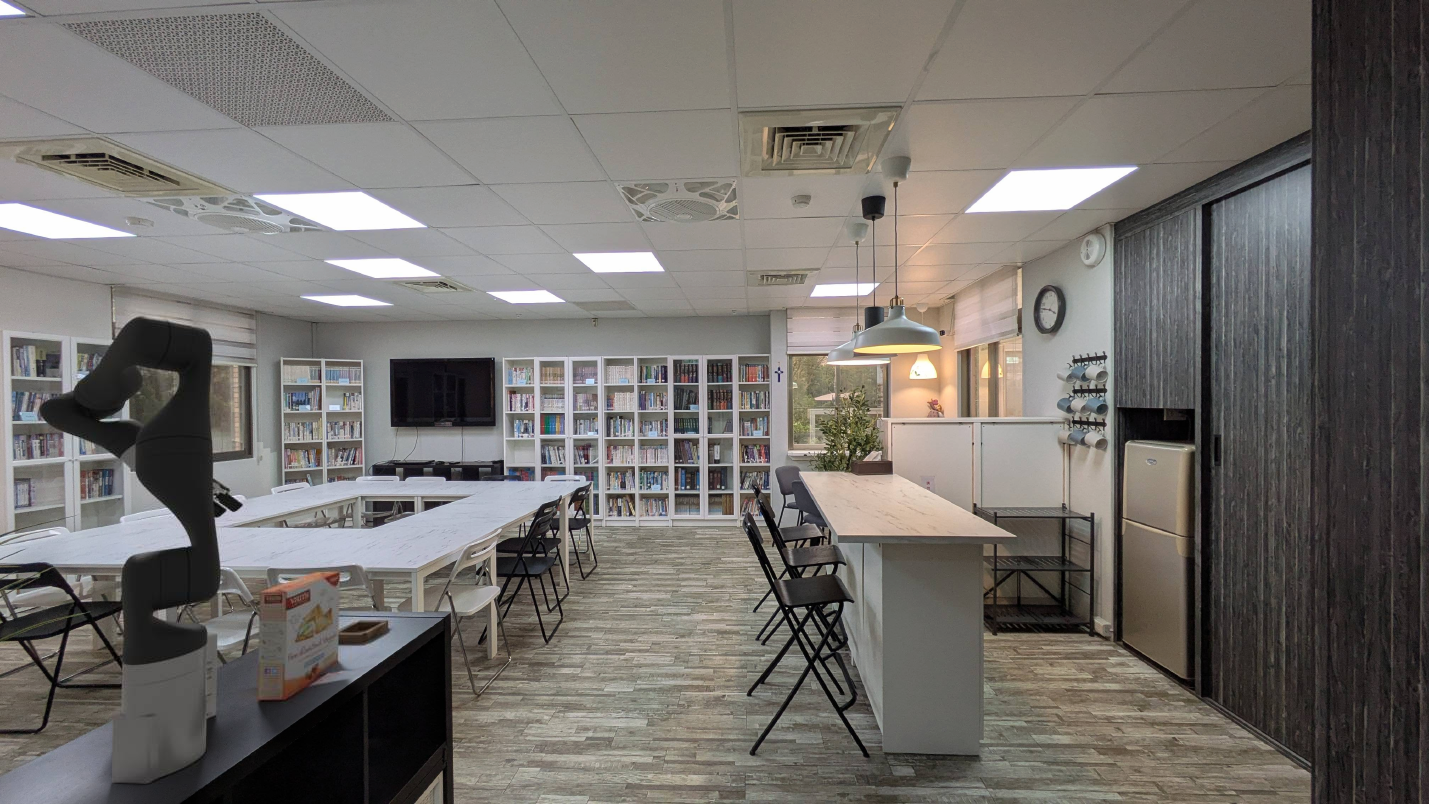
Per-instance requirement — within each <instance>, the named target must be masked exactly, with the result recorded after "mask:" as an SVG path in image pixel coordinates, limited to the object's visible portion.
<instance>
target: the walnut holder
mask: <svg viewBox="0 0 1429 804" xmlns="http://www.w3.org/2000/svg"><path fill="white" fill-rule="evenodd" d="M390 630H393V627H389V620H387V619H385V620H372V619H371V620H367V619H365V620H362V619H360V620H358V621H353V622H352V623H350V624H348V625H345V626H343V627H342V628H339V631H338V645H365V644H367V643H369V642H372V641H373V640H374V639H377V638H379V637H380V636H382V635H383V634H385V633H387V632H389V631H390Z"/></svg>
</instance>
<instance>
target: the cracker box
mask: <svg viewBox="0 0 1429 804" xmlns="http://www.w3.org/2000/svg"><path fill="white" fill-rule="evenodd" d="M340 573H341V572H339V571H316V572H312V573H310V574H307V575H305V576H302V577H298V578H296V579H294V580H293V579H292V580H291V581H287V582H285V583H281V584H277V585H276V586H272V587H270V588H268V589H265V590H262V591H260V592H259V614H258V615H259V617H258V619H259V621H258V623H259V624H258V656H257V657H258V660H257V662H258V663H257V664H258V665H257V698H256V699H257V701H285V700H287V699H289V698H290V697H292V696H293V695H295V694H297V693H298V692H300V691H302V690H303V689H305V688H307V687H309V685H311V684H313V683H314V682H316V681H318V680H320V679H321V678H322V677H324V676H326V675H328V674H329V672H326V673H321V672H322V671H324V670H326V669H327V668H329V667H331V666H332V665H334V664H335V663H337V662H338V661H339V644H338V631H339V629H340V628H339V625H340V624H339V623H340V620H339V619H340V577H341V575H340ZM319 673H321V674H319Z"/></svg>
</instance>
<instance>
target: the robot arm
mask: <svg viewBox="0 0 1429 804" xmlns="http://www.w3.org/2000/svg"><path fill="white" fill-rule="evenodd" d="M213 349H214V348H213V339H212V336H211V334H210V332H209V331H208V330H207V329H206V328H205V327H202V326H200V325H195V324H192V323H185V322H182V321H181V322H180V321H176V320H171V319H167V318H162V317H157V316H151V315H150V316H149V315H139V316H136V317H134V318H132V319H131V320H129V321H128V322H126V323H125V325H124V326H123V327H122V328H121V329H120V331H119V332H118V334H117V335H116V336H115V338H114V339H113V341H112V342H111V344H110V345H109V347H108V348H107V350H106V352H105V353H104V354H103V356H102V358H101V359H100V361H99V363H98V364H97V365H96V366H95V368H94V369H92V370H91V371H90V372H88V373H87V374H86V375H85V376H83V377H82V378H81V379H80V380H79V381H78V382H77V383H76V384H75V386H74V388H73V390H71V391H68V392H65V393H63V394H59V395H57V396H54V397H51V398H49V399H47V400H45V401H43V402H42V403H41V405H40V406H39V413H40V417H41V418H42V419H43V421H44V422H45V423H46V424H48V425H49V426H51V427H52V428H54V429H56V430H58V431H61V432H62V433H66V434H69V435H71V436H73V437H77V438H79V439H82V440H85V441H87V442H89V443H92V444H95V445H96V446H99V447H102V448H103V449H104V450H106V451H107V452H108V453H110V454H111V455H113V456H114V457H115V458H118V459H119V460H120V461H121V462H123V463H124V464H125V465H126V466H127V467H128V468H129V469H131V470H132V471H133V472H135V475H136V478H137V479H138V481H139V483H140V484H141V485H142V486H143V488H145V489H146V490H147V491H148V492H149V493H150V494H151V495H152V496H154V498H156V499H157V500H158V501H159V502H160V503H161V504H162V505H164V506H165V507H166V509H168V510H169V511H170V512H171V513H172V514H173V515H174V517H176V519H177V520H178V521H179V522H180V524H181V525H182V527H183V529H184V530H185V533H186V534H187V536H188V539H189V542H190V546H182V547H174V548H168V549H166V548H165V549H161V550H160V549H159V550H154V551H146V552H141V553H136V554H132V555H131V556H130V557H128V558H127V559H126V561H125V563H124V565H123V566H122V571H121V577H120V583H121V584H120V585H121V587H120V588H121V602H122V603H121V605H122V620H123V638H122V639H123V641H122V658H121V659H122V661H121V662H122V665H121V667H122V674H121V676H122V678H121V679H122V681H121V705H120V706H121V710H120V711H121V713H119V714H117V715H115V716H114V717H113V718H112V741H111V742H112V747H111V751H112V752H111V753H112V754H111V783H116V784H118V783H121V784H150V783H152V782H154V781H155V780H157V779H159V778H161V777H164V776H167V775H170V774H172V773H175V772H177V771H179V770H181V769H184V768H186V767H188V766H189V765H191V764H193V763H194V762H197V760H199V759H200V758H201V757H202V756H203V755H204V754H205V753H206V750H207V719H206V704H207V632H208V629H207V627H206V625H204V624H202V623H199V622H197V623H196V622H182V621H181V622H180V621H179V622H177V621H170V620H169V621H168V620H164V619H161V618H158V617H156V616H154V613H155V612H158V611H163V610H166V609H167V610H168V609H172V608H177V607H183V606H187V605H192V604H196V603H201V602H205V601H209V600H212V599H213V598H214V597H216V595H218V592H219V589H220V586H221V580H222V579H221V578H222V577H221V575H222V574H221V571H222V570H221V560H220V551H219V542H218V535H217V534H218V533H217V527H216V526H217V525H216V518H220V517H222V516H223V515H224V514H225V513H226V512H227V511H228V510H229V511H231V512H232V513H235V512H238V511H239V510H240V509H241V508H242V507H243V506H244V504H243V503H242V502H241V501H240V500H238V499H237V498H235V497H233V496H232V495H231V494H230V492H231V489H230V488H228V487H227V486H225V484H222V482H219V481H218V480H217V479H215V478H214V450H213V447H214V446H213V437H212V425H211V407H210V405H211V403H210V401H211V398H210V396H211V380H212V379H211V378H212V367H213V351H214V350H213ZM139 367H142V368H145V369H146V368H147V369H152V370H158V371H165V372H174V373H177V375H178V376H179V379H178V380H179V381H178V387H177V389H176V392H175V393H174V395H173V396H172V397H171V398H170V399H169V401H168V402H167V403H166V404H165V405H164V406H163V407H161V408H160V409H159V410H158V411H157V412H156V413H155V414H154V415H152V416H151V418H150V419H149V420H148V421H147V422H145V424H143V423H141V422H140V421H138V420H136V419H135V418H126V419H125V418H124V419H120V420H115V421H103V420H104V419H106V418H110V417H111V416H113V415H116V414H117V413H119V412H120V411H121V410H122V409H123V408H125V404H126V402H127V401H128V400H130V399H131V398H132V397H134V396H135V395H136V394H137V393H139V392H140V390H141V388H142V387H143V384H144V383H143V382H144V377H143V374H142V372H141V370H140V369H139Z"/></svg>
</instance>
